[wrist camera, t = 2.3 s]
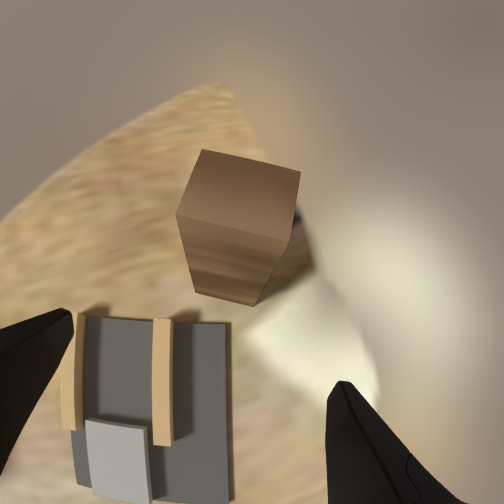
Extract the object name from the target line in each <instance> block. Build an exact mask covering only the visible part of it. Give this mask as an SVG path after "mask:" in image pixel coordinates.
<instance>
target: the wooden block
mask: <svg viewBox="0 0 504 504" xmlns="http://www.w3.org/2000/svg"><path fill="white" fill-rule="evenodd" d="M300 174H301V172H299V171H296V170H292V169H288V168H284V167H280V166H276V165H272V164H268V163H264V162H260V161H256V160H251V159H247V158H242V157H238V156H233V155H229V154H224V153H219V152H214V151H209V150H204V149H202V150H201V153H200V155H199V157H198V160H197V162H196V164H195V167H194V169H193V172H192V174H191V177H190V179H189V182H188V184H187V187H186V189H185V192H184V194H183V197H182V199H181V202H180V205H179V207H178V210H177V212H176V218H177V223H178V227H179V231H180V235H181V239H182V243H183V247H184V251H185V255H186V259H187V263H188V267H189V271H190V274H191V278H192V282H193V285H194V289H195V293H199V294H203V295H207V296H211V297H215V298H219V299H223V300H227V301H231V302H235V303H239V304H244V305H248V306H252V307H253V306H254V304H255V303H256V301H257V299H258V297H259V296H260V294H261V292H262V290H263V289H264V287H265V285H266V283H267V281H268V280H269V278H270V276H271V274H272V272H273V271H274V269H275V267H276V265H277V263H278V262H279V260H280V258H281V256H282V254H283V253H284V251H285V249H286V247H287V245H288V243H289V241H290V236H291V230H292V224H293V218H294V212H295V206H296V200H297V193H298V187H299V181H300Z"/></svg>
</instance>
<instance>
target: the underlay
mask: <svg viewBox="0 0 504 504" xmlns="http://www.w3.org/2000/svg"><path fill="white" fill-rule="evenodd" d="M70 312H71V313H72V317H73V324H74V335H73V338H72V340H71V342H70V344H69V346H68V348H67V350H66V352H65V354H64V356H63V358H62V360H61V384H60V385H61V420H62V428H66V429H69V430H71V437H72V448H73V457H74V465H75V473H76V479H77V484H79V485H82V486H86V487H90V488H92V490H93V495H97V496H101V497H105V498H109V499H114V500H118V501H123V502H129V503H134V504H151V503H152V501H153V500H157V501H166V502H176V503H189V504H229V489H228V462H227V426H226V352H225V324H193V323H173V322H172V320H171V319H154V321H153V322H152V321H137V320H123V319H111V318H101V317H90V316H85V315H83V314H80V313H78V312H72V311H70Z"/></svg>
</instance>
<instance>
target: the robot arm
mask: <svg viewBox="0 0 504 504" xmlns="http://www.w3.org/2000/svg"><path fill="white" fill-rule="evenodd" d="M73 335H74V324H73V317H72V313H71V312H70V311H69V310H66V309H64V308H59V309H56V310H53V311H50V312H47V313H44V314H41V315H39V316H36V317H33V318H30V319H27V320H25V321H22V322H19V323H16V324H13V325H10V326H8V327H5V328H2V329H0V475H1V473H2V471H3V469H4V466H5V464H6V462H7V460H8V457H9V455H10V453H11V451H12V449H13V447H14V445H15V443H16V441H17V439H18V437H19V435H20V433H21V431H22V429H23V427H24V426H25V424H26V422H27V420H28V418H29V416H30V415H31V413H32V411H33V409H34V407H35V406H36V404H37V402H38V400H39V399H40V397H41V395H42V393H43V392H44V390H45V388H46V387H47V385H48V383H49V382H50V380H51V378H52V377H53V375H54V373H55V372H56V370H57V368H58V366H59V364H60V362H61V360H62V358H63V356H64V354H65V352H66V350H67V348H68V346H69V344H70V342H71V340H72V338H73ZM325 448H326V464H327V485H328V504H468V503H464V502H462V501H460V500H459V499H457V498H456V497H455V496H454V495H453V494H451V493H450V492H449V491H448V490H447V489H446V488H445V487H444V486H443V485H442V484H441V483H439V482H438V481H437V480H436V479H435V478H434V477H433V476H432V475H431V474H430V473H429V472H428V471H427V470H426V469H425V468H424V467H423V466H422V465H421V464H420V462H419V461H418V460H417V459H416V458H415V457H414V456H413V454H412V453H409V452H410V451H409V450H408V449H407V448H406V446H405V445H404V444H403V443H402V442H401V441H400V439H399V438H398V437H397V436H396V435H395V434H394V432H393V431H392V430H391V429H390V428H389V427H388V425H387V424H386V423H385V422H384V421H383V419H382V418H381V417H380V416H379V415H378V414H377V412H376V411H375V410H374V409H373V408H372V407H371V405H370V404H369V403H368V402H367V401H366V399H365V398H364V397H363V396H362V395H361V394H360V392H359V391H358V390H357V389H356V388H355V386H354V385H353V384H352V383H351V382H348V381H338V382H337V383H336V385H335V386H334V388H333V390H332V391H331V393H330V395H329V396H328V399H327V413H326V433H325Z"/></svg>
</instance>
